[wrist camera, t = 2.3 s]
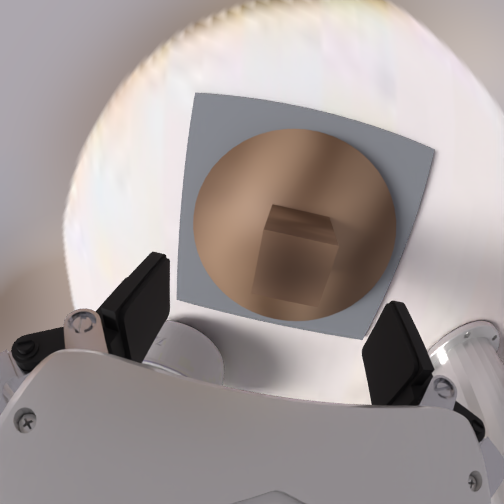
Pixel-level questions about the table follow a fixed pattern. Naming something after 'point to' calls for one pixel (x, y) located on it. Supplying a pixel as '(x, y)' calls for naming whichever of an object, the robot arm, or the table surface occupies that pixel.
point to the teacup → (186, 353)
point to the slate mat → (294, 117)
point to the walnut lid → (294, 224)
